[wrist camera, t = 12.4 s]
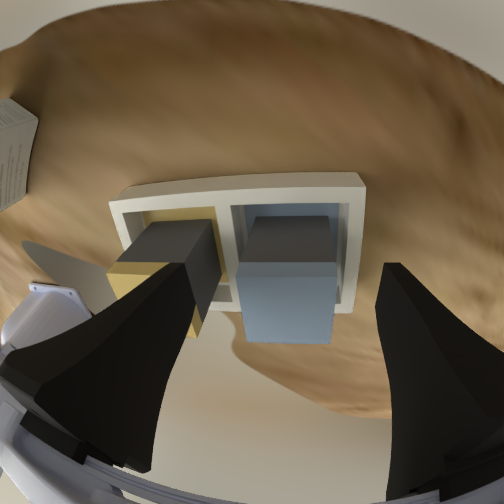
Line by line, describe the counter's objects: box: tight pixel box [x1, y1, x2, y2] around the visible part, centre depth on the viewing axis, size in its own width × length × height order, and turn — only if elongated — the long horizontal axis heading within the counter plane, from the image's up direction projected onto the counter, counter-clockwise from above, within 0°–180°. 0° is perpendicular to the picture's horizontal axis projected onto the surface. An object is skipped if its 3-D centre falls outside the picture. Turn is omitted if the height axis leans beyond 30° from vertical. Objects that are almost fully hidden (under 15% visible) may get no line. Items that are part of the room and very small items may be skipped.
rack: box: [108, 172, 366, 313], centre depth 17 cm, size 14×8×2 cm, turn 96°
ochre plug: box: [106, 219, 222, 338], centre depth 15 cm, size 4×4×6 cm
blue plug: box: [235, 216, 338, 344], centre depth 14 cm, size 4×4×6 cm
